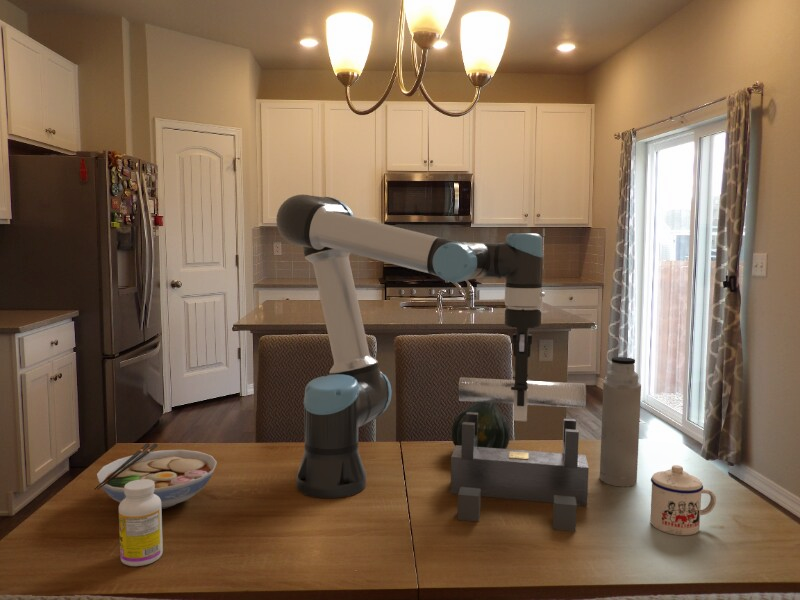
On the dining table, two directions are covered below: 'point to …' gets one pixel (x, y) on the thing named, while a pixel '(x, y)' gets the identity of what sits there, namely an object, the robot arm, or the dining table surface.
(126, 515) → the supplement bottle
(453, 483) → the grey cradle stand
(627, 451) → the thermos bottle
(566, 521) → the posts
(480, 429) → the squash
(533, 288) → the robot arm
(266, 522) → the dining table surface
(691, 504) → the teacup with lid
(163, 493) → the ramen bowl
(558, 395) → the tube
